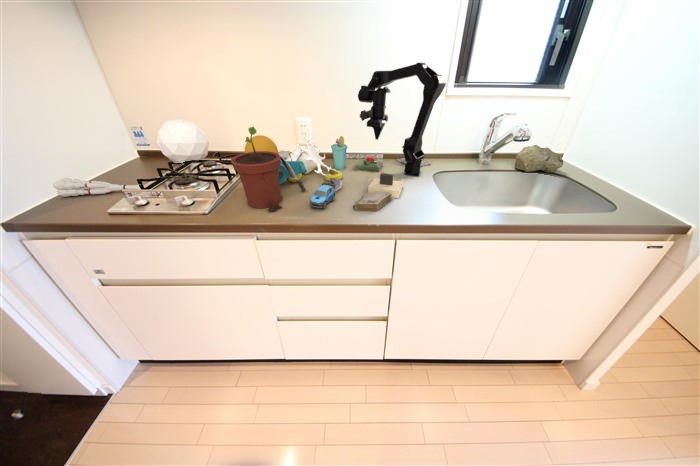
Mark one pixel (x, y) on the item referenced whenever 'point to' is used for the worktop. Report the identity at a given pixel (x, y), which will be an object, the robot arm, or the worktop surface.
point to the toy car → (323, 196)
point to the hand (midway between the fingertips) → (376, 139)
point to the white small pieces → (295, 154)
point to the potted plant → (261, 176)
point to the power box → (370, 165)
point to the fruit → (296, 177)
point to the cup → (339, 153)
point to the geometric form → (182, 141)
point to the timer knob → (386, 179)
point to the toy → (261, 144)
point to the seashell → (284, 155)
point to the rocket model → (87, 187)
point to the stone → (372, 201)
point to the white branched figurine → (312, 158)
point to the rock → (538, 159)
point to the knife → (334, 178)
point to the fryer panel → (386, 187)
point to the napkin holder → (405, 161)
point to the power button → (370, 158)
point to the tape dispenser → (296, 167)
